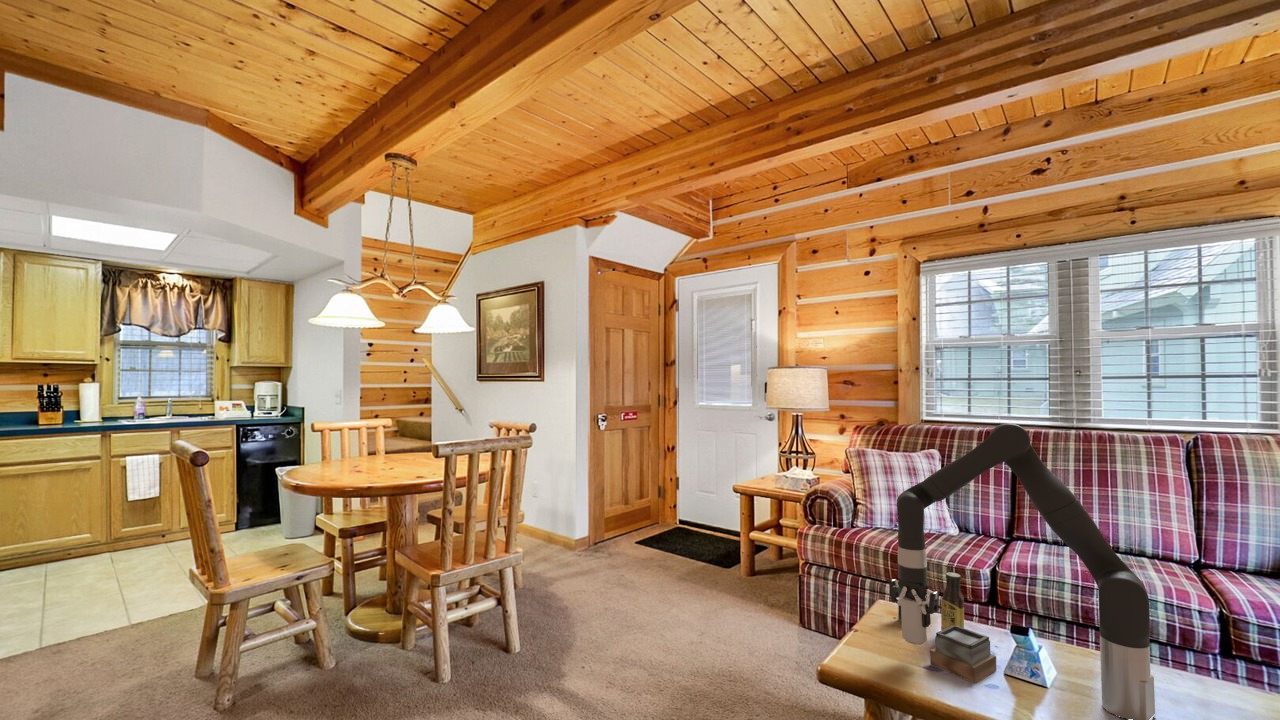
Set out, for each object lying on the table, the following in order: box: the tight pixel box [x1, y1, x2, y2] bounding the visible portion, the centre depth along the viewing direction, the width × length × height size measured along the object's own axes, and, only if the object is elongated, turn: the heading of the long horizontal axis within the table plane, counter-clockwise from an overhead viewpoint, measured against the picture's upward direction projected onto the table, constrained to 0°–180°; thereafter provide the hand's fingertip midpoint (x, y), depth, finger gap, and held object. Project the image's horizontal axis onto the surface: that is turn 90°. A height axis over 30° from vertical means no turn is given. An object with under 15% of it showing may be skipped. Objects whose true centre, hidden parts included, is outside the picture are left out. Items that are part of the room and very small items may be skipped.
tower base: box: [929, 625, 997, 684], centre depth 158 cm, size 12×12×9 cm
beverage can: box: [901, 596, 928, 646], centre depth 161 cm, size 6×6×12 cm
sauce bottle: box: [940, 572, 965, 631], centre depth 176 cm, size 6×6×20 cm
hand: (914, 622), depth 161 cm, fingers closed on beverage can, 6 cm apart
